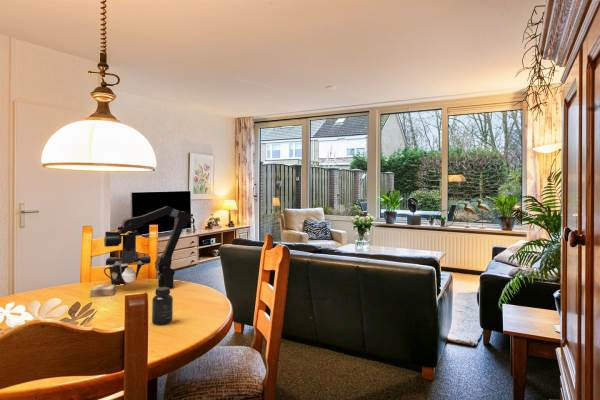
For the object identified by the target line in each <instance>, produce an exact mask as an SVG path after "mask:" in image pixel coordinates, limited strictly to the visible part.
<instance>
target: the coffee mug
mask: <svg viewBox="0 0 600 400" xmlns="http://www.w3.org/2000/svg"><path fill="white" fill-rule="evenodd" d="M127 267H129V263H125V264H122V263H121V270H122V273H123V272H124V271H125V268H127ZM107 269H108V270H109V274H107V273H106V270H107ZM103 273H104V275H106V277H108V279H110V282H111V283H110V285H111V284H112V285H120V284H125V283H127V282H125V281H124V279H123V278H122V279H120V276H119V273H118V271H117V269H116V268H115V267H113V266H112V265H108V266H107V267H105V268H104V269H103ZM125 285H126V284H125Z"/></svg>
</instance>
